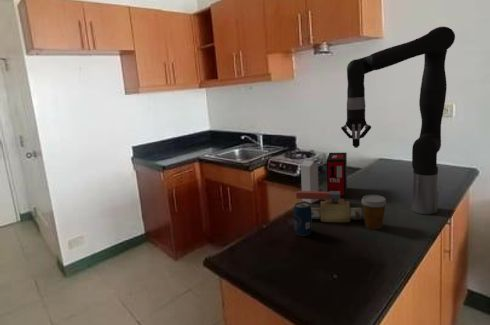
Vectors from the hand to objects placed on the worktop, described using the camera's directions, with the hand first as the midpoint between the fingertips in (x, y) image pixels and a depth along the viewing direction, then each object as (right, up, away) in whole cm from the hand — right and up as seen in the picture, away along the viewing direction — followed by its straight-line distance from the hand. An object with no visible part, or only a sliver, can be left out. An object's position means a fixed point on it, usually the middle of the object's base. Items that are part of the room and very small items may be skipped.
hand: (356, 147), depth 148 cm
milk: (-16, -26, +22) cm, 38 cm away
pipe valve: (-11, -31, -2) cm, 33 cm away
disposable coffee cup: (+3, -33, -12) cm, 35 cm away
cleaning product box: (0, -23, +30) cm, 37 cm away
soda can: (-26, -35, -13) cm, 45 cm away
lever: (-17, -22, -2) cm, 28 cm away
